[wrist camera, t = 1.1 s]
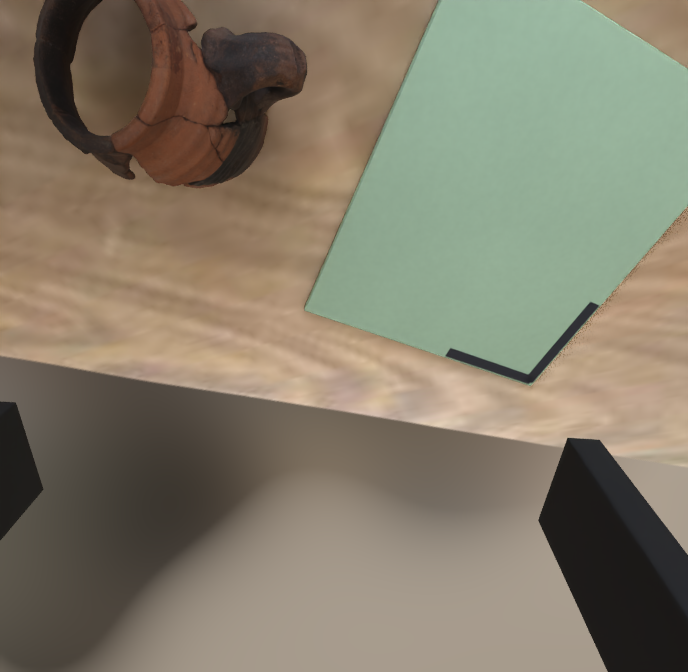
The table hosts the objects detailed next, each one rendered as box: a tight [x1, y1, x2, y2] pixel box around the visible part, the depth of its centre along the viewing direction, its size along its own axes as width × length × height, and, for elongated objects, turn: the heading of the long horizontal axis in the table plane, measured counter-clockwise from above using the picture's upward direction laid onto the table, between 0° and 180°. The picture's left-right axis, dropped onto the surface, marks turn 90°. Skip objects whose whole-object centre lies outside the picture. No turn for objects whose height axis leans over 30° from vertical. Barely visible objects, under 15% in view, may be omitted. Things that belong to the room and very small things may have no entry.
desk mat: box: [305, 0, 688, 386], centre depth 29 cm, size 20×22×1 cm
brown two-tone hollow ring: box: [33, 0, 307, 188], centre depth 21 cm, size 12×10×8 cm
